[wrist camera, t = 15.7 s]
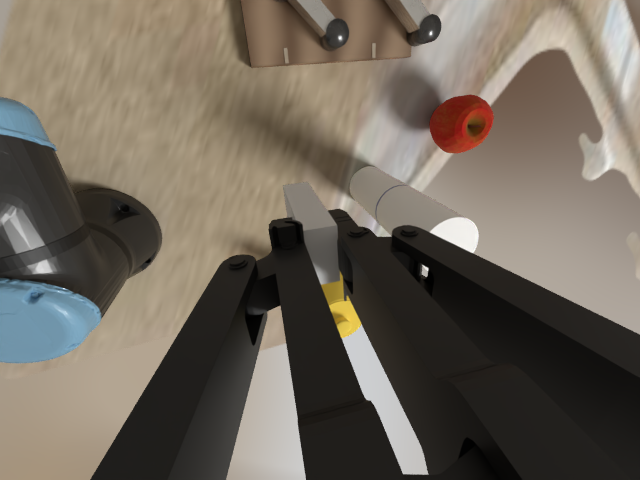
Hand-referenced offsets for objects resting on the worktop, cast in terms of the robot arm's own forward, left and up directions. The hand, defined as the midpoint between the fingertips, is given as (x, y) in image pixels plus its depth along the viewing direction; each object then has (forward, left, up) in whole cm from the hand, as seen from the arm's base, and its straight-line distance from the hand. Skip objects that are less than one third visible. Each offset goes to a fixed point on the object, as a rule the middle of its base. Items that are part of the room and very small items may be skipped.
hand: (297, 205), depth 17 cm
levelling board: (+11, +17, -32) cm, 38 cm away
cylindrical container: (+17, -10, -33) cm, 38 cm away
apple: (+30, 0, -33) cm, 44 cm away
